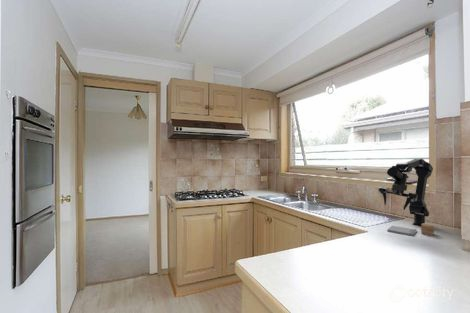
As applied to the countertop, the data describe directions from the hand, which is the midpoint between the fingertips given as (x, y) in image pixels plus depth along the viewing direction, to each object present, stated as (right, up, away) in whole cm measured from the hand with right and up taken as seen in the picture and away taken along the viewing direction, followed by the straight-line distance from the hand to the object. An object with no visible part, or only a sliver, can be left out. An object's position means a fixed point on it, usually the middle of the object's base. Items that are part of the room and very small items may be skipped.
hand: (394, 207), depth 138 cm
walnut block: (+15, -13, -6) cm, 21 cm away
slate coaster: (+4, -13, -1) cm, 14 cm away
